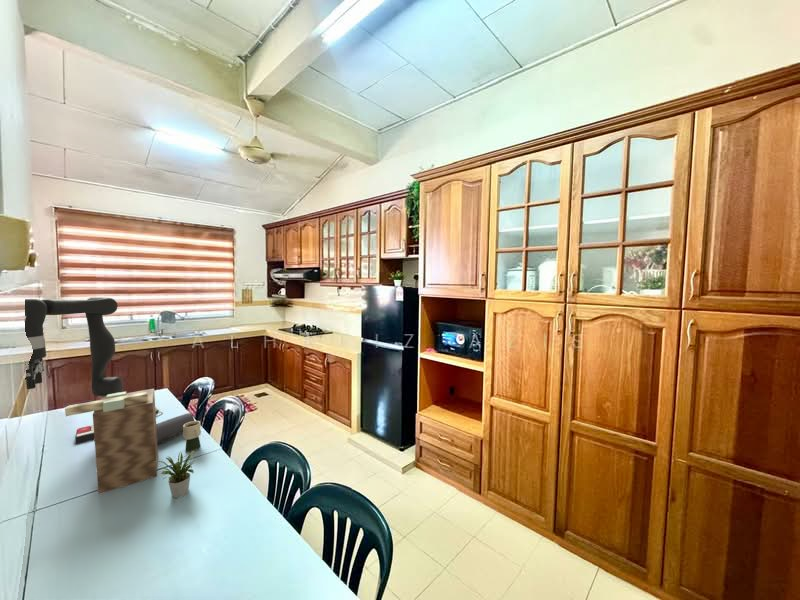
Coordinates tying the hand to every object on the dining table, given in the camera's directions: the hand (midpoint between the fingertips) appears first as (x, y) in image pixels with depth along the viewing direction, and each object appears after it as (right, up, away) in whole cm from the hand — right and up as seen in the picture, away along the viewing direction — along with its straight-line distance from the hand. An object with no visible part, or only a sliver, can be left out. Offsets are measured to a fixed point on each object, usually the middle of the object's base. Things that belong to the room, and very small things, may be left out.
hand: (34, 385), depth 128 cm
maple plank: (+33, -8, -3) cm, 34 cm away
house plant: (+65, -40, -9) cm, 77 cm away
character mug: (+50, -38, +24) cm, 67 cm away
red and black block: (-17, -39, +40) cm, 58 cm away
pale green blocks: (+35, -8, -1) cm, 35 cm away
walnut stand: (+34, -39, +6) cm, 53 cm away
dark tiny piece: (-11, -37, +60) cm, 72 cm away
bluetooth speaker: (+29, -38, +35) cm, 59 cm away
